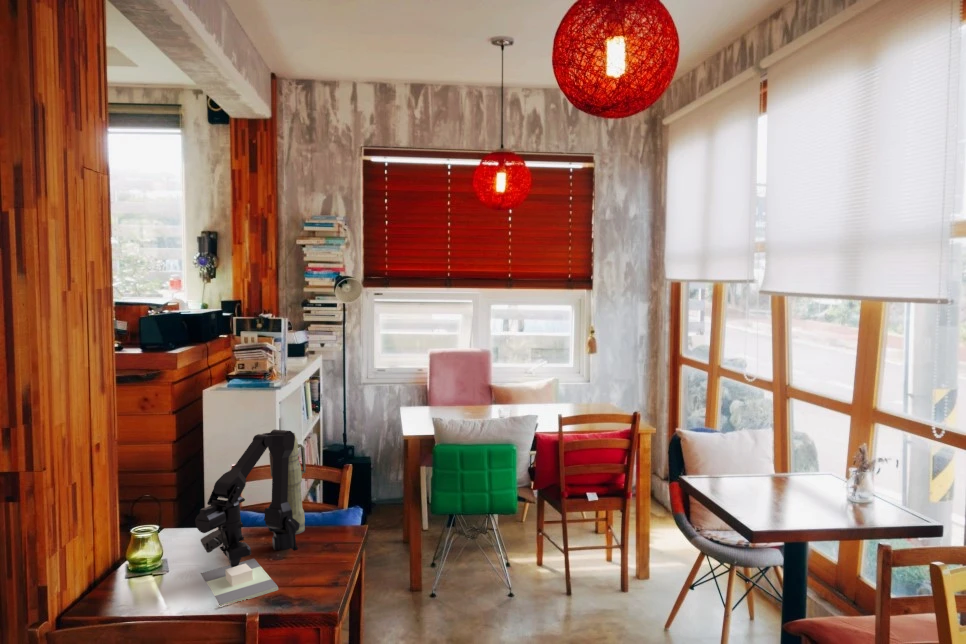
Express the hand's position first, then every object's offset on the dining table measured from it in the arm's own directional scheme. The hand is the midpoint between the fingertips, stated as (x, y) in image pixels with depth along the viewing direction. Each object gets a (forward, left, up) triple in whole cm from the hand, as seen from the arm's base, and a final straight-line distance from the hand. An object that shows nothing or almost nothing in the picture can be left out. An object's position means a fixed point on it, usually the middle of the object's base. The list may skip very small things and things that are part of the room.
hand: (234, 570), depth 203 cm
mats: (0, +4, -2) cm, 5 cm away
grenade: (-26, -25, -3) cm, 36 cm away
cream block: (0, +4, -1) cm, 4 cm away
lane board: (0, +4, -2) cm, 5 cm away
